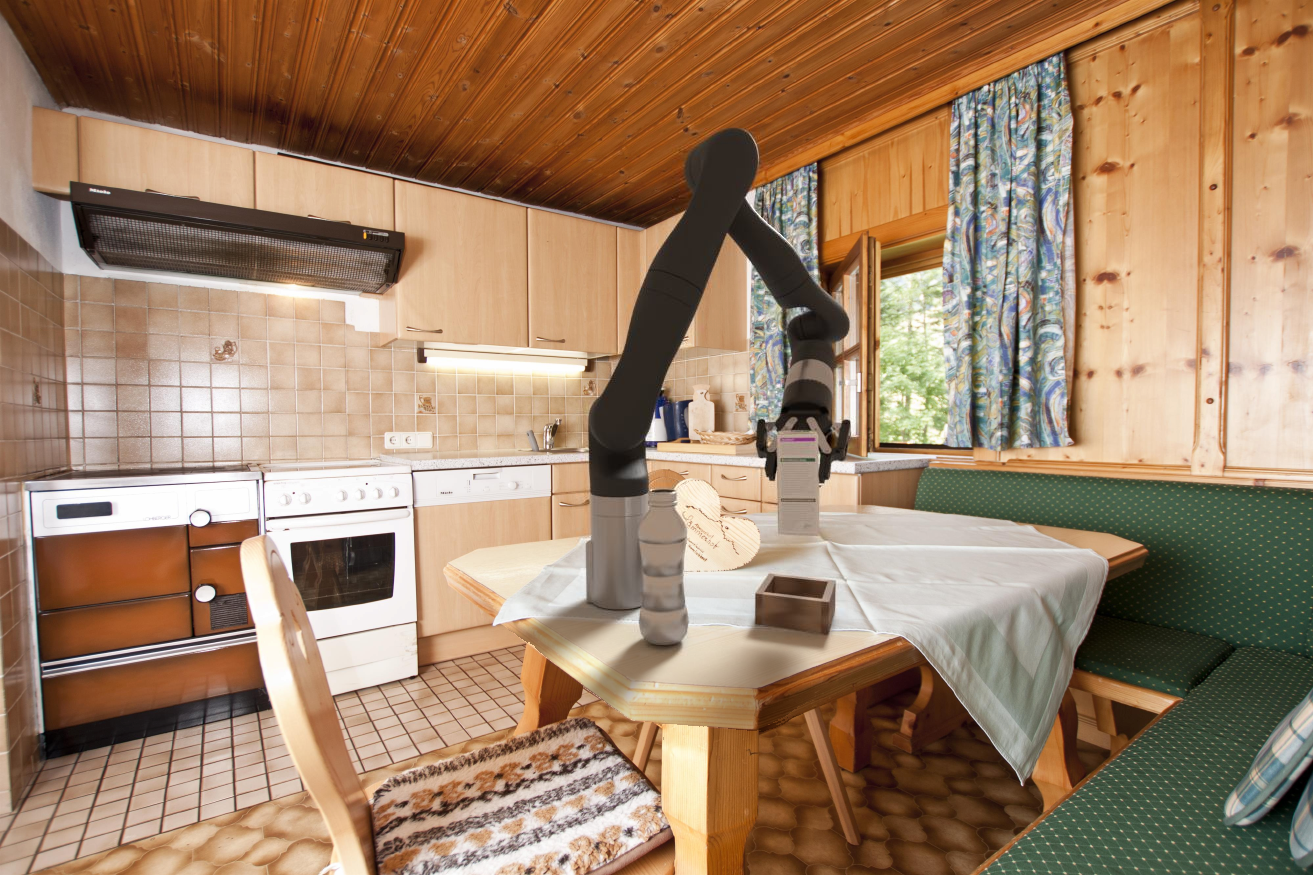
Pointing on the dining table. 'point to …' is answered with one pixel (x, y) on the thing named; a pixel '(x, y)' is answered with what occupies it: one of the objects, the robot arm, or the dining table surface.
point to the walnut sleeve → (796, 603)
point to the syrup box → (798, 483)
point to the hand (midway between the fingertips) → (796, 478)
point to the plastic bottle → (663, 570)
